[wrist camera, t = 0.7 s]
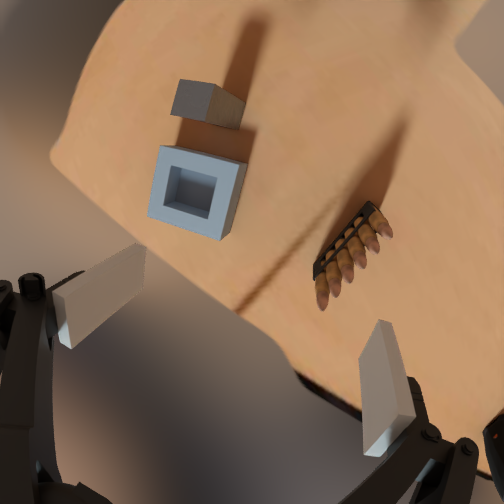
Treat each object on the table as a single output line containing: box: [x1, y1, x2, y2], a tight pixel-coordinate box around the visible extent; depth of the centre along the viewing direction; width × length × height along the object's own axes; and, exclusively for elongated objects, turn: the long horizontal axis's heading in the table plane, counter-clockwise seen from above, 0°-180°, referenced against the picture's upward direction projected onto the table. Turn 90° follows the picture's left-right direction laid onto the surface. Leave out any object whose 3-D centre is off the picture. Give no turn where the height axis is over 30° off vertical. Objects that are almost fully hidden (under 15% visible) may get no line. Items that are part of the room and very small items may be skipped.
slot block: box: [147, 145, 248, 241], centre depth 36 cm, size 9×10×4 cm
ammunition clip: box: [313, 201, 393, 311], centre depth 30 cm, size 11×2×12 cm, turn 144°
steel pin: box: [170, 79, 246, 130], centre depth 29 cm, size 4×4×11 cm
